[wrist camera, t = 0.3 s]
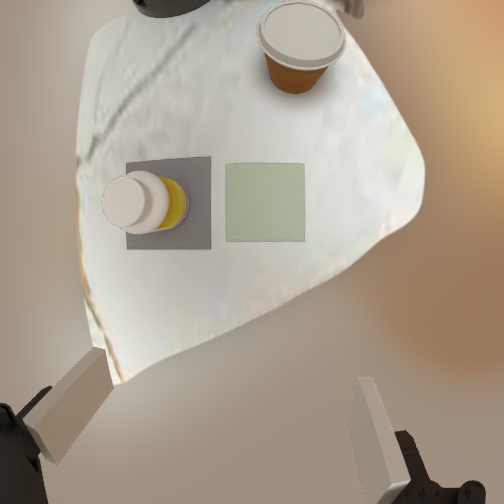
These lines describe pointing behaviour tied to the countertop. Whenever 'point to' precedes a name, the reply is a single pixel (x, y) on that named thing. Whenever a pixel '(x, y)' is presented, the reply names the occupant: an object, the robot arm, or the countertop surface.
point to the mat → (265, 202)
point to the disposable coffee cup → (299, 43)
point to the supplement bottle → (144, 202)
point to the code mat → (198, 215)
